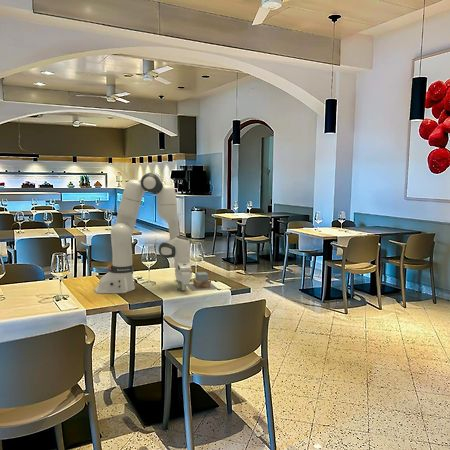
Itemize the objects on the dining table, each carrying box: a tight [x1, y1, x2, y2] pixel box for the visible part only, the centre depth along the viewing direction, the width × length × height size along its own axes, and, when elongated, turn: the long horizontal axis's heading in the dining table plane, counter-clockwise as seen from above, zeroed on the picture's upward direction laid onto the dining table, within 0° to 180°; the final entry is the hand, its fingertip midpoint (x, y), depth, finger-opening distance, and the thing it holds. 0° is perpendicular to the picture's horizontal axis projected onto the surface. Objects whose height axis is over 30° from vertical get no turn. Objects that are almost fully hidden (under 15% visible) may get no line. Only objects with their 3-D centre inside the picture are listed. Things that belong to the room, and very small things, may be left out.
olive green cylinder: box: [177, 281, 187, 292], centre depth 248 cm, size 5×5×5 cm
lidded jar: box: [174, 268, 193, 282], centre depth 268 cm, size 11×11×9 cm
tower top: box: [194, 271, 209, 282], centre depth 255 cm, size 6×6×4 cm
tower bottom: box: [192, 278, 211, 289], centre depth 256 cm, size 8×8×4 cm
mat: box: [186, 282, 219, 292], centre depth 256 cm, size 16×16×1 cm
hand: (181, 288), depth 248 cm, fingers closed on olive green cylinder, 5 cm apart
